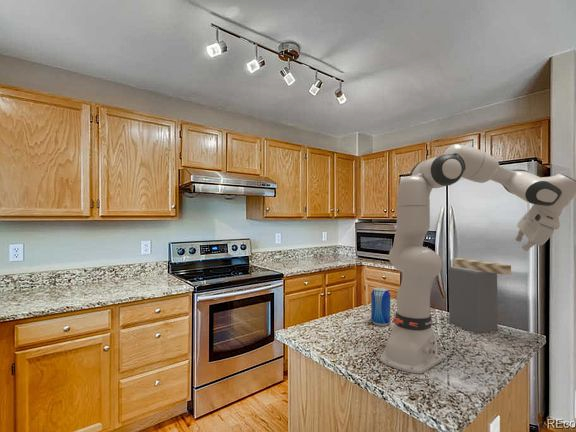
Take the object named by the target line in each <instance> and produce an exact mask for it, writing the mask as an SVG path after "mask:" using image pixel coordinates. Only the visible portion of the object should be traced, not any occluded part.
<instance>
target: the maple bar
mask: <svg viewBox="0 0 576 432" xmlns="http://www.w3.org/2000/svg"><path fill="white" fill-rule="evenodd" d="M455 266H456V267H462V268H468V269H473V270H479V271H485V272H491V273H497V275H503V276H506V275H512V265H511V264H503V263H497V262H489V261H482V260H476V259H475V260H474V259H467V258H460V257H457V258H452V267H455Z"/></svg>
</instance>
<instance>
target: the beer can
mask: <svg viewBox="0 0 576 432" xmlns="http://www.w3.org/2000/svg"><path fill="white" fill-rule="evenodd" d="M370 295H371V296H370V299H371V300H370V301H371V302H370V304H371V308H370V309H371V310H370V312H371V314H370V315H371V322H372V324H374V325H375V326H378V327H386V326H387V327H388V326H389V324H390V323H391V294H390V291H389V289H388V288H386V287H381V286H380V287H379V286H378V287H373V288H372V291H371V294H370Z"/></svg>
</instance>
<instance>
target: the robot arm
mask: <svg viewBox="0 0 576 432" xmlns="http://www.w3.org/2000/svg"><path fill="white" fill-rule="evenodd" d="M461 178H462V179H466V180H468V181H471V182H473V183H479V184H484V183H487V182H489V181H490V180H491V181H493V182H496V183H498V184H500V185H501V186H503V188H504V189H505V190H506V191H507V192H508V193H510V194H512V195H515V196H516V197H517V198H520V199H521V200H523V201H525V202H526V203H529V204H532V205H531V207H530V209H529V210H528V211H527V212H526V213H525V214H524V215H523V216H522V217H521V218H520V219H519V220H518V222H517V224H516V226H517V228H518V231H517V235H516V237H515V238H514V240H515V241H517V242H518V243H520V242H522V240H523V237H524V236H525V237H526V238H527V239H528V240H527V242H526V243H524V244H523V245H522V247H521V248H522V250H523V251H526V252H528V251H529V250H530V249H531V248H532V247H534V246H535V245H536V246H543V245H545V244H546V242H547V241H548V240H549V239H550V238H551V236H552V235H553V234H554V231H555V230H558V229H559V228H560V226H561V224H560V221H559V219H560V218H559V217H560V216H561V215H562V213H563V209H564V208H565V207H567V206H568V205H569V204H570V203H571V202H572V200H573V199H574V198H575V196H576V179H574V178H572V177H570V176H568V175H565V174H564V173H557V174H555V175H552V176H544V177H543V176H542V177H541V176H538V175H536V174H534V173H532V172H531V171H528V170H526V169H510V168H508V167H505V166H502V165H500V163H499V160H498V159H497V158H496V157H494V156H493V155H491V154H490V153H488V152H486V151H483V150H481V149H478V148H475V147H472V146H470V145H465V144H459V143H455V144H452V145H450V146H448V148H446V149H445V151H444V152H443V154H441V155H439V156H435V157H430V158H427V159H425V160H423V161H420V162H419V163H417V164H415V165H414V167H413V168H412V169H411V171H410V174H409V176H406V177H404V178H402V179H401V181H400V182H399V185H398V190H397V196H396V197H397V199H396V227H395V228H396V230H395V234H394V239H393V244H392V248H391V249H390V251H389V252H388V259H389V260H388V261H389V262H390V264H391V265H392V266H393V267H394V268H395V269H396V270H398V271H399V272H402V277H401V283H400V286H399V288H398V289H397V290H396V312H395V314H394V317H393V318H392V323H393V327H392V330H391V332H390V335H389V337H388V340H387V344H386V346H385V348H384V350H383V352H382V353H381V355H380V357H379V361H380V362H381V363H382V364H384V365H386V366H388V367H391V368H394V369H396V370H399V371H403V372H406V373H407V372H408V373H410V374H411V373H412V374H424V373H425V372H426V371H428V370H429V369H432V367H434V366H436V365H437V364H439V363H441V362H442V361H443V357H442V356H441V355H440V354H438V345H437V334H436V333H435V331H434V330H433V328H432V322H433V318H432V315H431V292H432V288H433V284H434V281H435V278H436V277H437V276H438V275H439V274H440V273H441V271H442V268H443V262H442V261H443V260H442V258H441V256H440V255H439V254H438V253H437V252H436V251H434V250H433V249H431V248H429V247H427V246H423V245H424V240H425V237H426V234H427V233H428V231H430V227H431V225H430V223H431V220H430V219H431V217H430V216H431V215H430V214H431V212H430V209H431V208H430V207H431V205H430V204H431V200H430V195H431V192H432V190H433V189H440V188H444V187H446V186H447V187H449V186H451V185H453V184H456V183H457V182H458V181H460V179H461Z"/></svg>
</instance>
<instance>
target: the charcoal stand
mask: <svg viewBox="0 0 576 432" xmlns="http://www.w3.org/2000/svg"><path fill="white" fill-rule="evenodd" d="M448 289H449V291H448V293H449V295H448V301H449V302H448V304H449V307H448V308H449V309H448V311H449V313H448V315H449V317H448V318H449V324H451V325H453V326H456V327H459V328H461V329H464V330H466V331H469V332H471V333H474V334H477V335H480V334H484V333H489V332H495V331H498V326H499V325H498V324H499V323H498V322H499V320H498V319H499V318H498V274H497V273H491V272H485V271H479V270H473V269H468V268H462V267H456V266H448Z"/></svg>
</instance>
